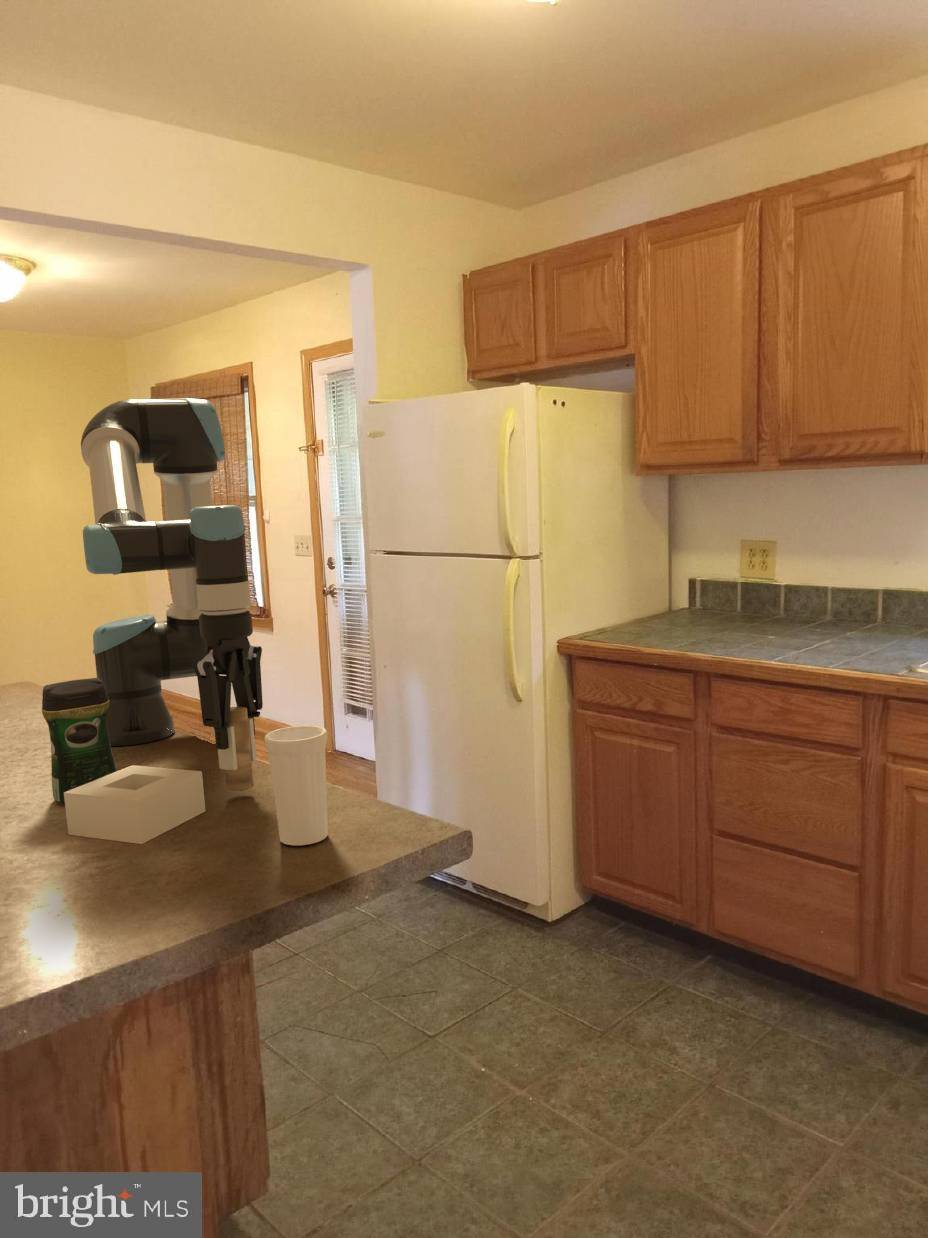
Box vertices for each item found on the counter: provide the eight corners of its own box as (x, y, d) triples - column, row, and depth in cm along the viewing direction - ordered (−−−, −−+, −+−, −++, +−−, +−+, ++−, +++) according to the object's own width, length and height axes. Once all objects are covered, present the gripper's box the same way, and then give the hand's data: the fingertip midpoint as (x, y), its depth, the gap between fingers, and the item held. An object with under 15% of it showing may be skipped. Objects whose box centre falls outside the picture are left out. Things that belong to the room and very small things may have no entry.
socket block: (136, 803, 137) (132, 765, 136) (205, 811, 132) (201, 771, 131) (68, 834, 125) (63, 792, 124) (141, 844, 120) (137, 800, 119)
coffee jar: (114, 784, 147) (102, 672, 145) (123, 797, 140) (111, 679, 138) (49, 797, 142) (36, 681, 140) (56, 810, 136) (41, 689, 133)
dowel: (237, 781, 140) (230, 706, 138) (258, 783, 138) (252, 707, 136) (221, 790, 136) (214, 712, 134) (242, 792, 135) (236, 714, 133)
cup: (267, 835, 121) (258, 731, 119) (326, 824, 124) (318, 722, 122) (279, 856, 113) (270, 745, 111) (342, 843, 116) (334, 735, 115)
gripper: (239, 602, 142) (251, 746, 146) (164, 619, 127) (180, 779, 130) (279, 603, 139) (290, 749, 143) (208, 620, 124) (222, 784, 127)
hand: (238, 763), depth 137 cm, fingers closed on dowel, 4 cm apart
